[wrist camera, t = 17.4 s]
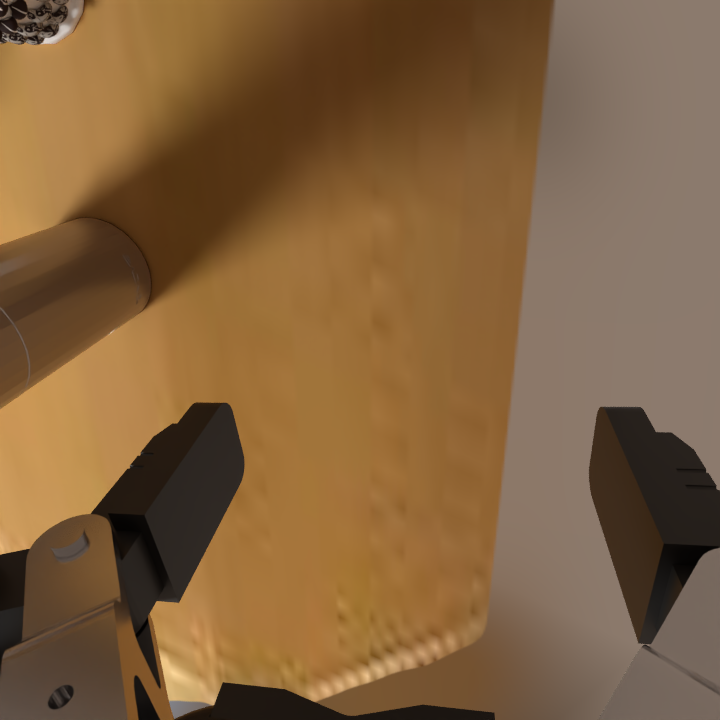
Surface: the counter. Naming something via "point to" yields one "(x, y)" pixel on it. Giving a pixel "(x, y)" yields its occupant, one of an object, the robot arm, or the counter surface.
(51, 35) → the decorative candle
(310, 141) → the counter surface
